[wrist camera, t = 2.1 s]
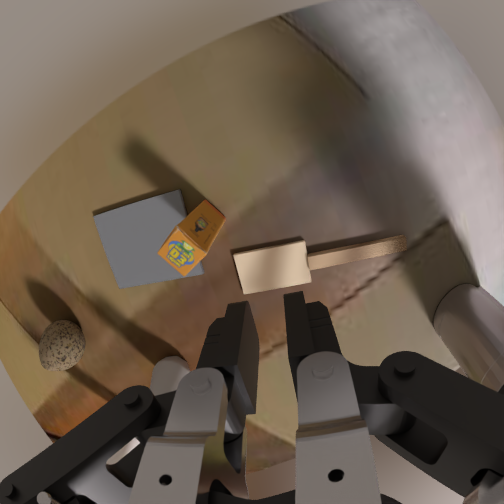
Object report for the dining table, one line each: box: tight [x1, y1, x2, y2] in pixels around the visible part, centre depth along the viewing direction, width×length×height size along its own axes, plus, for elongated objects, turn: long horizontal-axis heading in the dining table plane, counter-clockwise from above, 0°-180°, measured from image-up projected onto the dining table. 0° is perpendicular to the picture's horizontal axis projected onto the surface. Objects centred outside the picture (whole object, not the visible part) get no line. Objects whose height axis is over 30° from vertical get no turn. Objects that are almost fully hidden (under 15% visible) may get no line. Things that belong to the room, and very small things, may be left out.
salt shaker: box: [150, 356, 190, 396], centre depth 33 cm, size 6×6×13 cm
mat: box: [93, 189, 204, 289], centre depth 32 cm, size 12×10×1 cm
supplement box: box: [157, 200, 226, 277], centre depth 27 cm, size 3×3×10 cm
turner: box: [233, 235, 407, 294], centre depth 32 cm, size 20×5×1 cm, turn 103°
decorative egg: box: [39, 320, 85, 371], centre depth 34 cm, size 7×7×10 cm
